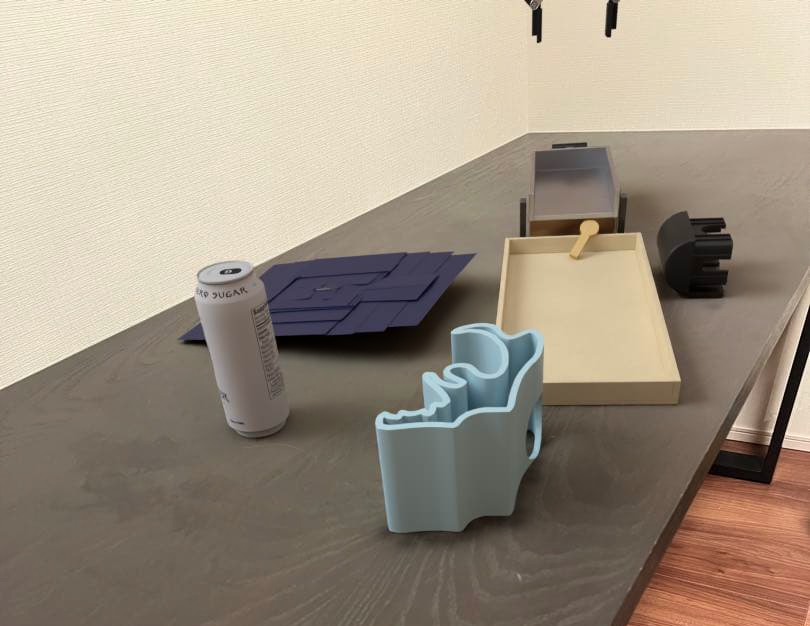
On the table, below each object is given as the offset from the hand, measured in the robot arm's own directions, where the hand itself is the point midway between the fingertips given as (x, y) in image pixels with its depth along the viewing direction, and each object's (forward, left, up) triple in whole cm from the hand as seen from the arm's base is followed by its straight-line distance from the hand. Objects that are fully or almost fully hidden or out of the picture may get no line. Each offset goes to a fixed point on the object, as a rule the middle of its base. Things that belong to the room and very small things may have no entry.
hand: (573, 38), depth 112 cm
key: (-2, +29, -18) cm, 34 cm away
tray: (0, +48, -20) cm, 52 cm away
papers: (+28, +45, -20) cm, 57 cm away
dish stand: (0, +18, -20) cm, 27 cm away
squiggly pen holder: (+10, +79, -20) cm, 82 cm away
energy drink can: (+30, +71, -20) cm, 80 cm away
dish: (0, +15, -16) cm, 22 cm away
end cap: (-13, +40, -20) cm, 46 cm away
